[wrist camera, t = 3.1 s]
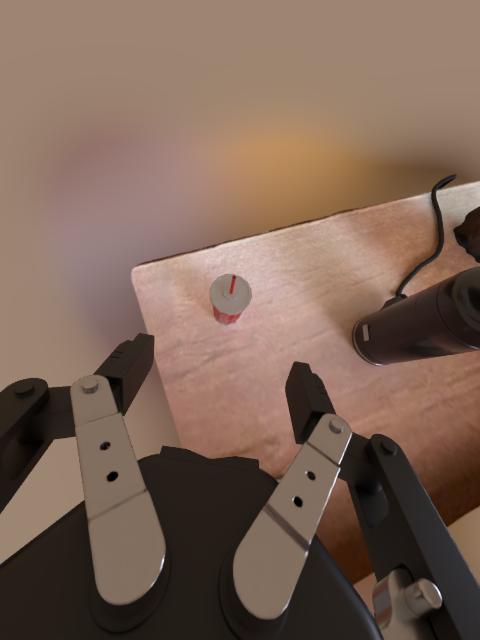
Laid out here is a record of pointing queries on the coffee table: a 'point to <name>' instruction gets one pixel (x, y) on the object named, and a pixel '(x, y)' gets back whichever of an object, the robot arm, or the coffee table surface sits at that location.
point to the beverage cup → (229, 298)
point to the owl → (470, 234)
